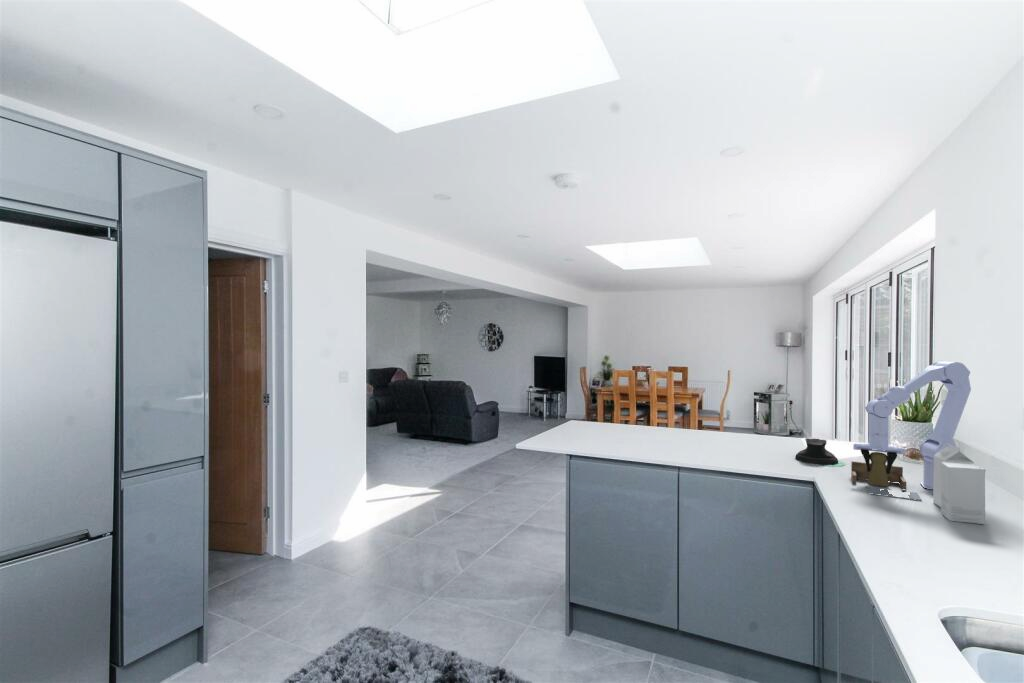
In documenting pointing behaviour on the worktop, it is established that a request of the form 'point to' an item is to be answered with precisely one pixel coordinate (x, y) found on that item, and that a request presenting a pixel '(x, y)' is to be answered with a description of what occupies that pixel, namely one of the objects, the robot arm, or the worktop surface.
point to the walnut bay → (861, 472)
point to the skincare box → (963, 492)
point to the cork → (878, 469)
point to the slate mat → (885, 492)
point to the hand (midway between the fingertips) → (878, 472)
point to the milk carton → (950, 456)
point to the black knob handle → (817, 454)
